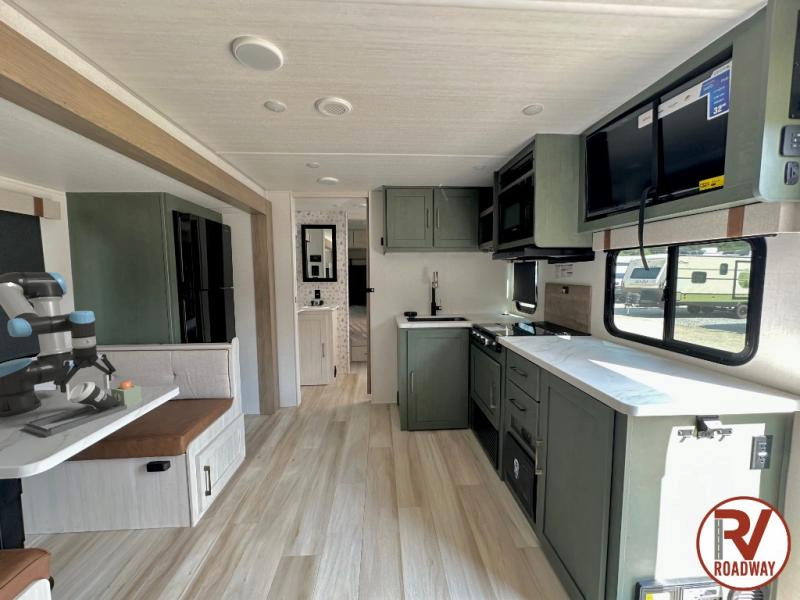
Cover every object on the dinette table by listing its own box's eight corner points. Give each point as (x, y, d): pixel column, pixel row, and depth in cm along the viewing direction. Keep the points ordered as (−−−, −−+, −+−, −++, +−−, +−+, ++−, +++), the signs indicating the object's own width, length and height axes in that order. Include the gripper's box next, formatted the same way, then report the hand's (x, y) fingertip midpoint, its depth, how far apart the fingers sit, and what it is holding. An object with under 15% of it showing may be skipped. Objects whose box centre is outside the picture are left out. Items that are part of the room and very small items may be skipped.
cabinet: (110, 405, 151) (109, 389, 150) (129, 399, 158) (128, 383, 157) (123, 408, 147) (122, 391, 146) (141, 402, 154) (140, 386, 153)
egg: (119, 395, 151) (118, 383, 151) (128, 392, 155) (127, 380, 154) (124, 396, 150) (123, 384, 149) (133, 393, 153) (132, 381, 153)
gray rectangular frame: (24, 429, 127) (23, 423, 127) (105, 404, 151) (104, 399, 151) (46, 437, 121) (45, 431, 120) (127, 409, 145) (126, 404, 145)
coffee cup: (110, 414, 142) (79, 400, 131) (92, 415, 143) (61, 401, 132) (123, 394, 148) (95, 379, 137) (106, 395, 150) (77, 380, 139)
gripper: (48, 354, 124) (53, 406, 126) (123, 341, 147) (126, 385, 149) (39, 352, 127) (43, 403, 129) (113, 340, 150) (116, 383, 152)
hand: (87, 393), depth 139 cm, fingers open, 13 cm apart
